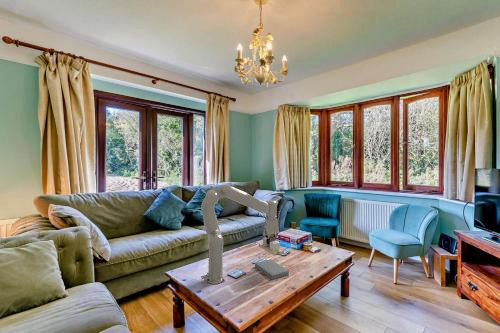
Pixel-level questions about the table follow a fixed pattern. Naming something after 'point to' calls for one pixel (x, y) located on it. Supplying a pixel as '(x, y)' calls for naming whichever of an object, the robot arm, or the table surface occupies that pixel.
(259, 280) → the table surface
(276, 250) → the pallet
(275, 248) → the crate
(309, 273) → the table surface
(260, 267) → the dock
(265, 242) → the block
